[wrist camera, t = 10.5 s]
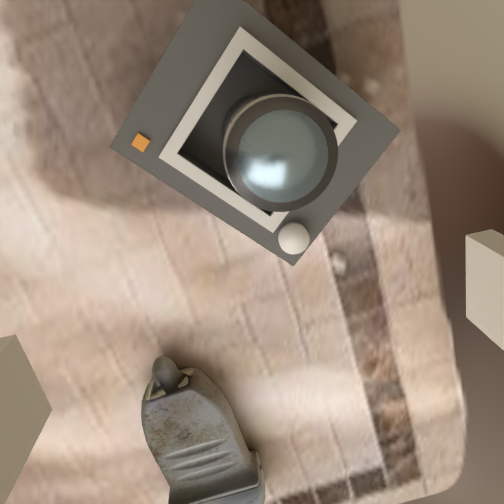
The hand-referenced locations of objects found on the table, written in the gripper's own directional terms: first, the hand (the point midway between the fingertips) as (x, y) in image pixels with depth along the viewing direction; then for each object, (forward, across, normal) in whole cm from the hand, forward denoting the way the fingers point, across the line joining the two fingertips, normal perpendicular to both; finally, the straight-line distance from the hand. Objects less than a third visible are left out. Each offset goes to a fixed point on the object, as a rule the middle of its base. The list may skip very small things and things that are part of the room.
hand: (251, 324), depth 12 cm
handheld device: (+23, -8, -24) cm, 35 cm away
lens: (+18, +3, +3) cm, 18 cm away
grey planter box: (+22, +2, +3) cm, 23 cm away
